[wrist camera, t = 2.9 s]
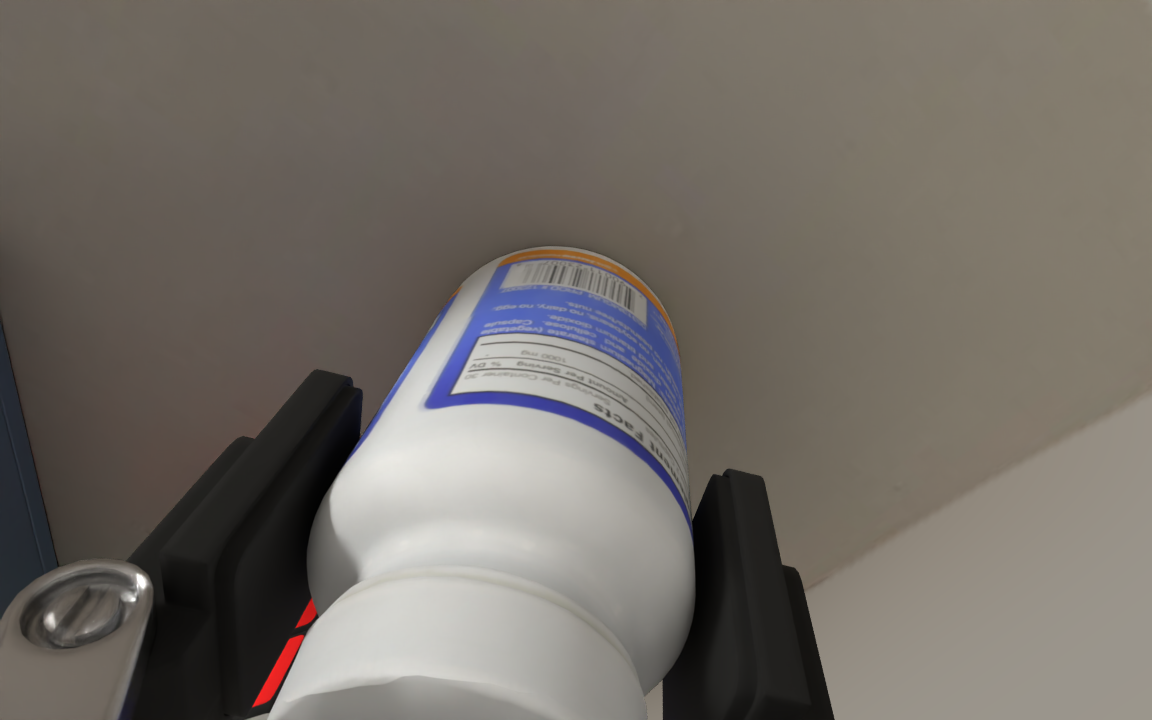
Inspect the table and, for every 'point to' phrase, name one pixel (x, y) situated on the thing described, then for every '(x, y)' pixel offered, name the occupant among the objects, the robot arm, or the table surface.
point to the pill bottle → (510, 512)
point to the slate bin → (19, 498)
